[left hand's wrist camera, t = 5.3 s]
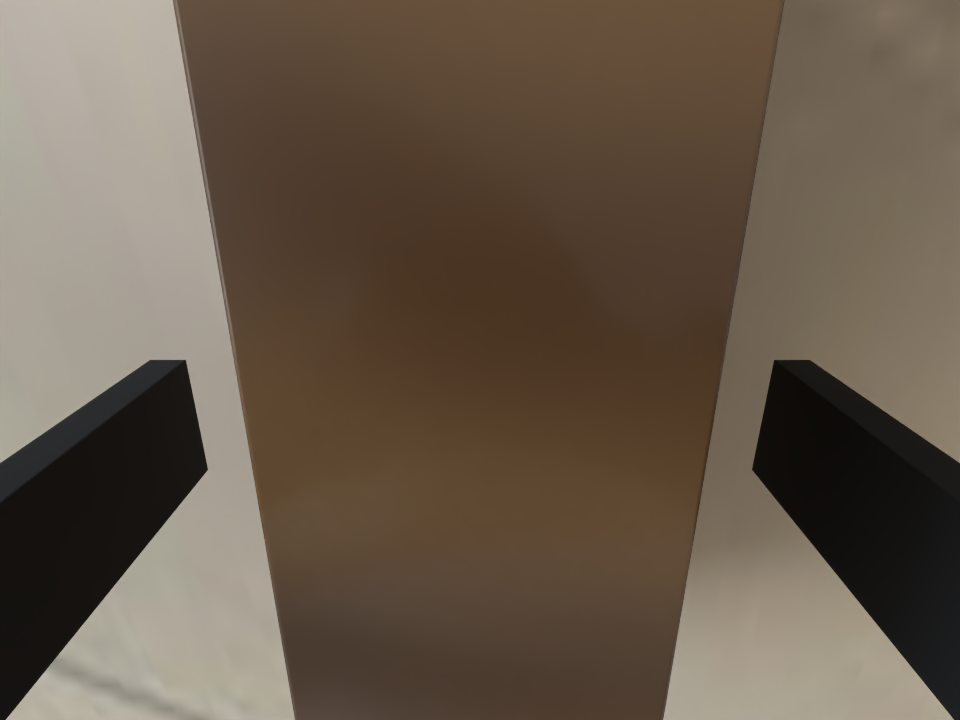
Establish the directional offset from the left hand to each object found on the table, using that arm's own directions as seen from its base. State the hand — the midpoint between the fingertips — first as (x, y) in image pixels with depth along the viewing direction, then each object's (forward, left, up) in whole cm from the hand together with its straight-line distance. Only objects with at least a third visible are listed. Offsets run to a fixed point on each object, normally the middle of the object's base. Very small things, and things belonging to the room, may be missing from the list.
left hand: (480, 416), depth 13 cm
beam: (-3, +24, -3) cm, 24 cm away
